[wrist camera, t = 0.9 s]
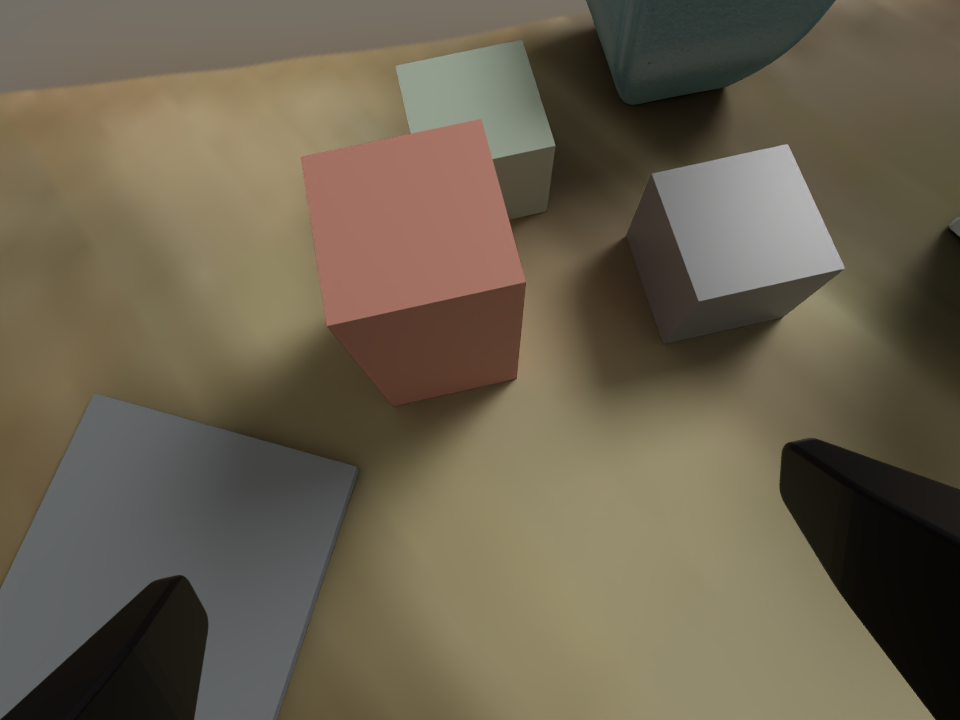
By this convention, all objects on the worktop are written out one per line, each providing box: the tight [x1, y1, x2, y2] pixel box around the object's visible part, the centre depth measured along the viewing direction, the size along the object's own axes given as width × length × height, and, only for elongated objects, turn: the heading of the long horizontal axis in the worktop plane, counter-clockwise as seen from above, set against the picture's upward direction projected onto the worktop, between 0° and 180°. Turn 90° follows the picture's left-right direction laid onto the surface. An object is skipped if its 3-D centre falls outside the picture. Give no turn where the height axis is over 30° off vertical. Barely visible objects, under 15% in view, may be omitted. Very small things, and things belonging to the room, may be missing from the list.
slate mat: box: [0, 393, 360, 720], centre depth 21 cm, size 12×11×1 cm
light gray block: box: [626, 144, 845, 344], centre depth 22 cm, size 5×5×4 cm
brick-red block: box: [301, 119, 526, 406], centre depth 19 cm, size 5×5×9 cm
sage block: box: [396, 40, 556, 220], centre depth 24 cm, size 5×5×4 cm
